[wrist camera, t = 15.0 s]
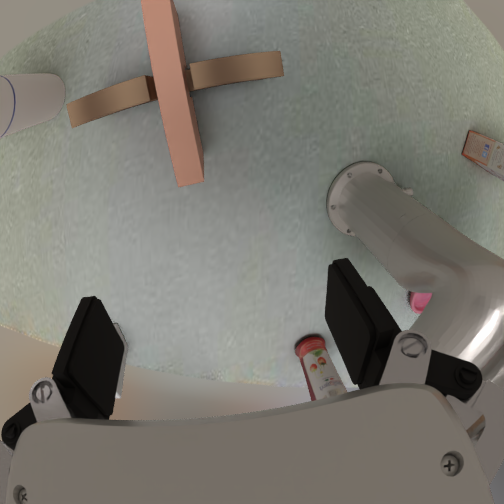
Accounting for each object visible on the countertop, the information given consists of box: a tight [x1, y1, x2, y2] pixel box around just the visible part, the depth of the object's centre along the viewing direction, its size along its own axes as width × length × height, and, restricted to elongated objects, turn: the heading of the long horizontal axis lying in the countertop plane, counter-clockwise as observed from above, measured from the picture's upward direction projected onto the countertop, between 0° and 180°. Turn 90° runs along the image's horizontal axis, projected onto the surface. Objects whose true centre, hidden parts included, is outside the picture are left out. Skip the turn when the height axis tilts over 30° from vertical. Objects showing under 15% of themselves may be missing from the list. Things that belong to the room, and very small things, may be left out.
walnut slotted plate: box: [66, 51, 284, 128], centre depth 26 cm, size 20×2×12 cm, turn 99°
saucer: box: [410, 292, 432, 314], centre depth 58 cm, size 12×12×3 cm
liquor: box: [295, 337, 348, 401], centre depth 49 cm, size 7×7×28 cm
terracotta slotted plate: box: [141, 0, 204, 187], centre depth 26 cm, size 20×2×12 cm, turn 8°
